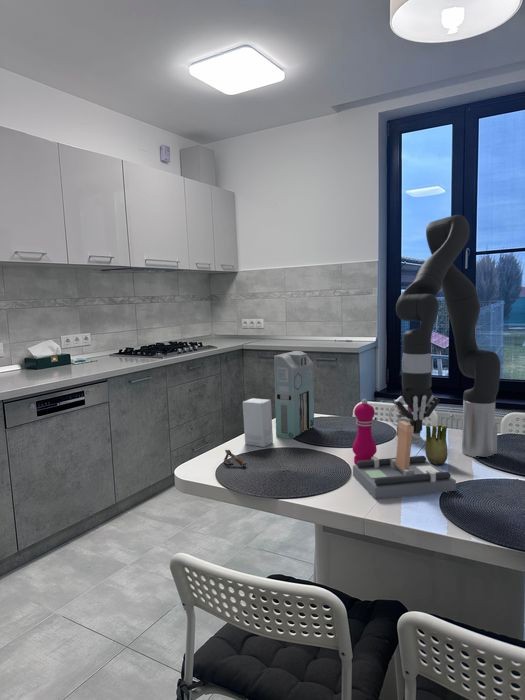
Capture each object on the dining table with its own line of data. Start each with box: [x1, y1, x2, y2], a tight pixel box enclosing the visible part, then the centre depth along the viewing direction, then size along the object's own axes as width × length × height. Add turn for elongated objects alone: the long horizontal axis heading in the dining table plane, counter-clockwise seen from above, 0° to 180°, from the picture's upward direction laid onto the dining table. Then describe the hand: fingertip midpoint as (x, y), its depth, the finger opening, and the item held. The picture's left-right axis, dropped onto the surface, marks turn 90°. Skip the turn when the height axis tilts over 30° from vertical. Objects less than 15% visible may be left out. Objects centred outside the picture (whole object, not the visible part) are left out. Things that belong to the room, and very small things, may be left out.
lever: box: [395, 420, 414, 473], centre depth 126 cm, size 2×6×13 cm, turn 9°
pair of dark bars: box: [356, 455, 452, 485], centre depth 126 cm, size 21×15×2 cm
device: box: [273, 350, 315, 439], centre depth 175 cm, size 16×8×30 cm, turn 147°
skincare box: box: [242, 397, 274, 448], centre depth 163 cm, size 8×7×16 cm
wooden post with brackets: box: [223, 449, 248, 468], centre depth 143 cm, size 2×8×4 cm, turn 56°
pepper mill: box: [352, 398, 377, 465], centre depth 142 cm, size 7×7×20 cm
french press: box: [388, 400, 424, 444], centre depth 163 cm, size 10×12×25 cm
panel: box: [352, 459, 457, 500], centre depth 126 cm, size 22×16×5 cm
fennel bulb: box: [425, 424, 449, 466], centre depth 140 cm, size 6×5×12 cm
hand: (416, 432), depth 126 cm, fingers closed
